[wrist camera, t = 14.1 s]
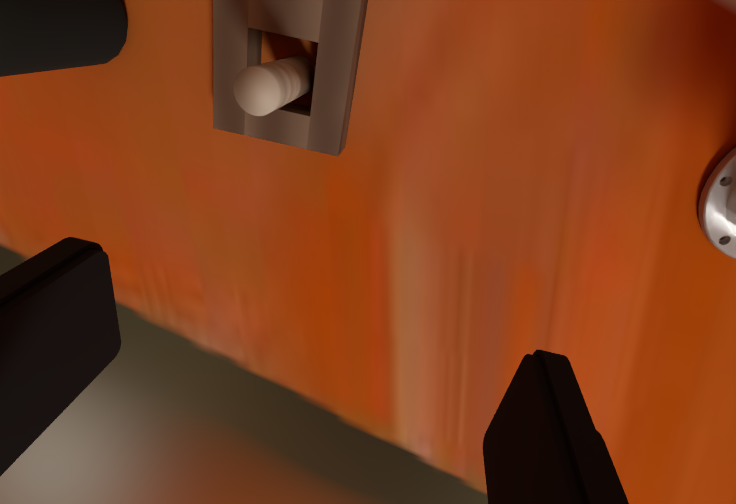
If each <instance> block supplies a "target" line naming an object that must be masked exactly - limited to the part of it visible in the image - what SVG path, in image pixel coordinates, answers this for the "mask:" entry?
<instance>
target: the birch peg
mask: <svg viewBox="0 0 736 504" xmlns="http://www.w3.org/2000/svg"><path fill="white" fill-rule="evenodd" d="M314 78H315V66H314V64H313V63H312V61H311V60H309V59H308V58H306V57H304V56H300V55H297V56H292V57H288V58H284V59H280V60H276V61H272V62H268V63H263V64H259V65H255V66H251V67H247V68H244V69H243V70H241V71H240V72H239V73H238V74H237V76H236V78H235V80H234V85H233V91H234V95H235V98H236V101H237V102H238V104H239V105H240V107H241V108H242V109H243V110H244V111H246V112H247V113H249V114H251V115H254V116H264V115H267V114H269V113H271V112H273V111H274V110H276V109H278V108H280V107H282V106H284V105H285V104H287V103H289V102H291V101H293V100H295V99H296V98H298V97H300V96H302V95H304V94H306V93H308V92H309V91H311V90H312V89H313V87H314Z"/></svg>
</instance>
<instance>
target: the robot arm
mask: <svg viewBox="0 0 736 504" xmlns="http://www.w3.org/2000/svg"><path fill="white" fill-rule="evenodd" d="M698 210H699V222H700V225H701V229H702V231H703V233H704V234H705V236H706V238H707V239H708V240H709V241H710V242H711V243H712V244H713V245H714V246H715V247H716V248H717V249H719V250H720V251H722V252H723V253H724V254H726V255H727V256H730V257H732V258H734V259H736V147H735V148H734V149H732V150H731V151H730V152H729V153H728V154H727V155H726V156H725V157H724V158H723V159H722V160H721V161H720V163H719V164H718V165H717V166H716V167H715V169H714V170H713V172H712V173H711V175H710V176H709V178H708V179H707V182H706V184H705V186H704V188H703V190H702V193H701V197H700V201H699V206H698ZM120 346H121V339H120V331H119V325H118V318H117V311H116V305H115V298H114V292H113V285H112V278H111V272H110V265H109V259H108V255H107V254H106V252H103V249H102V247H101V246H100V245H99V244H97V243H95V242H91V241H86V240H82V239H78V238H74V237H68V238H65V239H63V240H61V241H60V242H58V243H56V244H54V245H53V246H51V247H49V248H47V249H46V250H44V251H42V252H40V253H39V254H37V255H35V256H34V257H32V258H30V259H28V260H27V261H25V262H23V263H21V264H20V265H18V266H16V267H15V268H13V269H11V270H9V271H8V272H6V273H4V274H2V275H1V276H0V476H1V475H2V474H3V473H4V472H5V471H6V470H7V469H8V468H9V467H10V466H11V465H12V464H13V463H14V462H15V460H16V459H17V458H18V457H19V456H20V455H21V454H22V453H23V452H24V451H25V450H26V449H27V448H28V447H29V446H30V445H31V444H32V443H33V442H34V441H35V440H36V439H37V438H38V437H39V436H40V435H41V433H42V432H43V431H45V429H46V428H47V427H48V426H49V425H50V424H51V423H52V422H53V421H54V420H55V419H56V418H57V417H58V416H59V415H60V414H61V413H62V412H63V411H64V410H65V409H66V408H67V407H68V406H69V405H70V403H72V402H73V401H74V399H75V398H76V397H77V396H78V395H79V394H80V393H81V392H82V391H83V390H84V389H85V388H86V387H87V386H88V385H89V384H90V383H91V382H92V381H93V380H94V379H95V378H96V377H97V376H98V375H99V373H101V371H102V370H103V369H104V368H105V367H106V366H107V365H108V364H109V363H110V362H111V361H112V360H113V359H114V358H115V357H116V356H117V354H118V352H119V350H120ZM483 456H484V466H485V475H486V485H487V495H488V504H629V503H628V500H627V498H626V495H625V493H624V490H623V488H622V485H621V483H620V480H619V477H618V475H617V472H616V470H615V467H614V465H613V462H612V460H611V457H610V455H609V452H608V450H607V447H606V444H605V442H604V440H603V438H602V436H601V434H600V433H599V432H598V431H597V430H596V429H595V427H594V424H593V421H592V419H591V416H590V414H589V411H588V408H587V406H586V403H585V401H584V398H583V395H582V393H581V390H580V388H579V385H578V382H577V380H576V377H575V375H574V372H573V369H572V367H571V364H570V362H569V360H568V358H567V357H566V356H564V355H560V354H555V353H551V352H547V351H543V350H536V351H535V352H534V353H533V355H530V354H526V355H525V356H524V358H523V359H522V361H521V363H520V365H519V367H518V369H517V371H516V373H515V375H514V377H513V379H512V381H511V383H510V385H509V387H508V389H507V391H506V393H505V395H504V397H503V399H502V401H501V403H500V405H499V407H498V409H497V411H496V413H495V415H494V417H493V419H492V421H491V423H490V425H489V427H488V429H487V431H486V433H485V436H484V441H483Z"/></svg>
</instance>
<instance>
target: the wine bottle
mask: <svg viewBox="0 0 736 504" xmlns="http://www.w3.org/2000/svg"><path fill="white" fill-rule="evenodd" d="M127 27H128V24H127V18H126V13H125V7H124V5H123V3H122V1H121V0H0V77H1V76H9V75H17V74H25V73H33V72H41V71H50V70H58V69H66V68H74V67H82V66H90V65H98V64H104V63H107V62H109V61H110V60H111V59H113V58H114V57H116V56H117V55H119V53H120V51H121V49H122V47H123V46H124V44H125V42H126V36H127Z"/></svg>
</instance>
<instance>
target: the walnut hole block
mask: <svg viewBox="0 0 736 504" xmlns="http://www.w3.org/2000/svg"><path fill="white" fill-rule="evenodd" d="M367 3H368V0H213V128H215V129H219V130H224V131H228V132H233V133H237V134H241V135H246V136H250V137H255V138H259V139H263V140H268V141H272V142H277V143H281V144H286V145H290V146H294V147H299V148H303V149H308V150H312V151H316V152H321V153H325V154H330V155H334V156H339V154H340V153H341V152H342V150H343V149H344V148H345V143H346V137H347V131H348V124H349V118H350V112H351V105H352V99H353V92H354V86H355V80H356V73H357V67H358V60H359V54H360V48H361V41H362V35H363V29H364V22H365V16H366V9H367ZM262 31H267V32H271V33H276V34H281V35H285V36H290V37H295V38H299V39H304V40H308V41H313V42H318V50H317V59H316V68H315V78H314V87H313V96H312V105H311V108H309V107H304V106H300V105H295V104H291V103H287V104H285V105H284V106H282V107H280V108H278V109H276V110H274V111H273V112H271V113H269V114H267V115H264V116H254V115H251V114H249V113H247V112H246V111H244V110H243V109H242V108H241V107H240V105H239V104H238V102H237V101H236V98H235V95H234V91H233V85H234V80H235V78H236V76H237V74H238V73H239V72H240V71H241V70H243V69H244V68H247V67H251V66H255V65H259V64H261V47H262Z"/></svg>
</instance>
